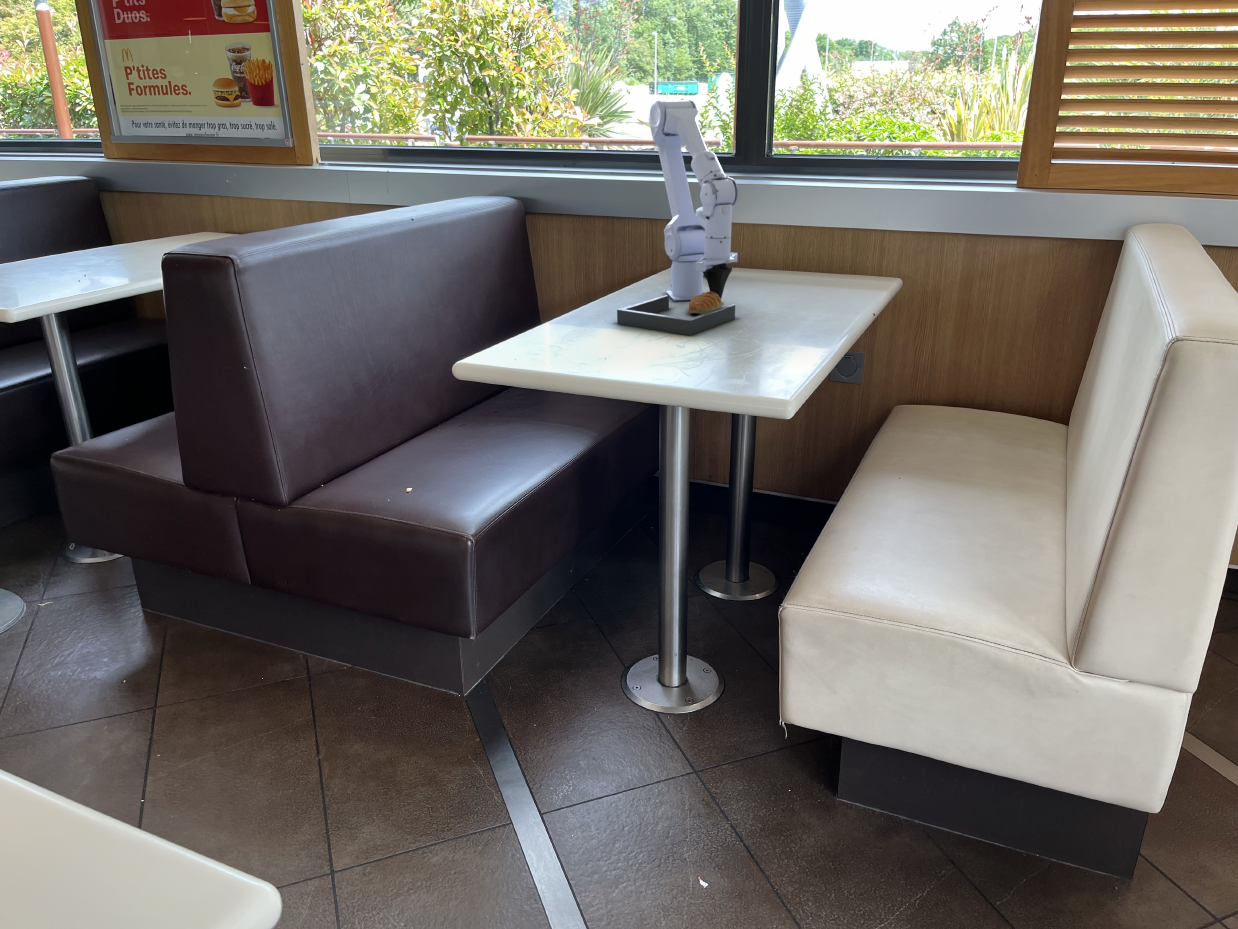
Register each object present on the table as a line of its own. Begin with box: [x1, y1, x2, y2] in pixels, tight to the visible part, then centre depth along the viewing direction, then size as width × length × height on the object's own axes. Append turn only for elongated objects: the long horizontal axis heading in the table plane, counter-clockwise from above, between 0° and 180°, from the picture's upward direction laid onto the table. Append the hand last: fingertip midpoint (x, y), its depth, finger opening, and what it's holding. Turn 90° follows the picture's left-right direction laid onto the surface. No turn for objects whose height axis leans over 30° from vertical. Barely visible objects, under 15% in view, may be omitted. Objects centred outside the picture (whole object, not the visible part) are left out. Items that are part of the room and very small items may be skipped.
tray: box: [616, 294, 736, 337], centre depth 188 cm, size 18×18×3 cm
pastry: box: [688, 290, 724, 315], centre depth 195 cm, size 9×7×4 cm
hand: (716, 298), depth 199 cm, fingers closed
